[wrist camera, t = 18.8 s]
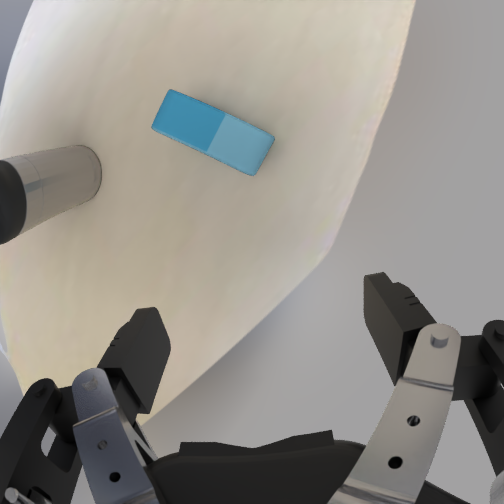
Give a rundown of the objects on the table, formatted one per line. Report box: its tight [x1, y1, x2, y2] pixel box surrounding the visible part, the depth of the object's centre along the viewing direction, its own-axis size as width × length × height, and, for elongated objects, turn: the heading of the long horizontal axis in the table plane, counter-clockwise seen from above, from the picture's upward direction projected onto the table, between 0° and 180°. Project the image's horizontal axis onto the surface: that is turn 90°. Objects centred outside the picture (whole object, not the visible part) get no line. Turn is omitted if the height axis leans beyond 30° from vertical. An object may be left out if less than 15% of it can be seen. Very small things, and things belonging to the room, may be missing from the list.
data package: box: [152, 89, 275, 176], centre depth 32 cm, size 12×4×12 cm, turn 63°
